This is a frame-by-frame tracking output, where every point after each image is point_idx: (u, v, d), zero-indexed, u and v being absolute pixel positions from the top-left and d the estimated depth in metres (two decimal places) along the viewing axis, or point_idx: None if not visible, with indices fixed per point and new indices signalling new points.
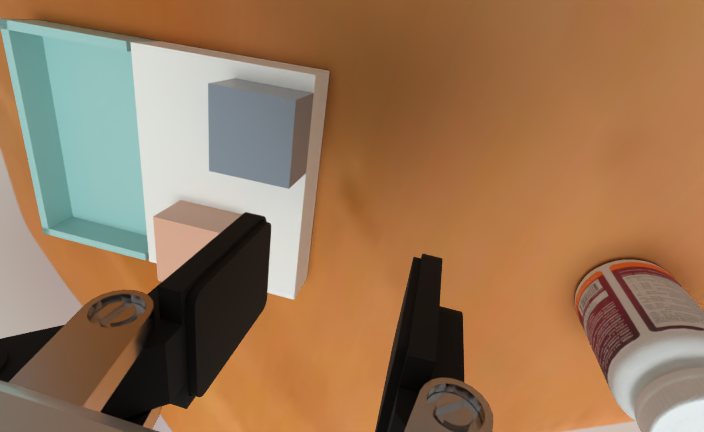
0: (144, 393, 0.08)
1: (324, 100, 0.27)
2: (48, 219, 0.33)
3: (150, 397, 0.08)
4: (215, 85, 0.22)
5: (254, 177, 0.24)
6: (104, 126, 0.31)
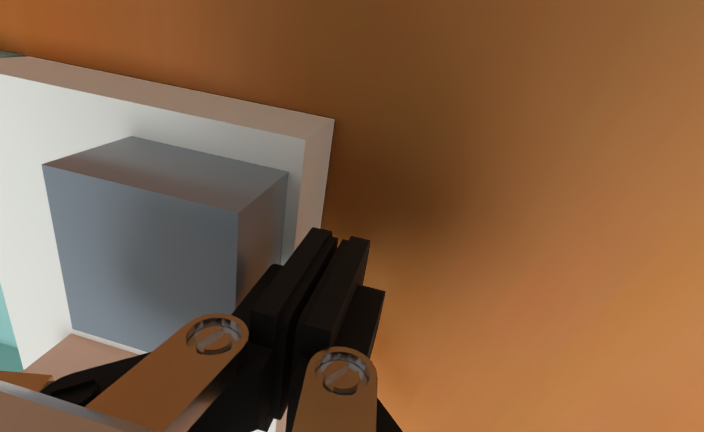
0: (225, 427, 0.08)
1: (324, 173, 0.14)
2: None
3: (241, 423, 0.08)
4: (58, 169, 0.10)
5: None
6: None
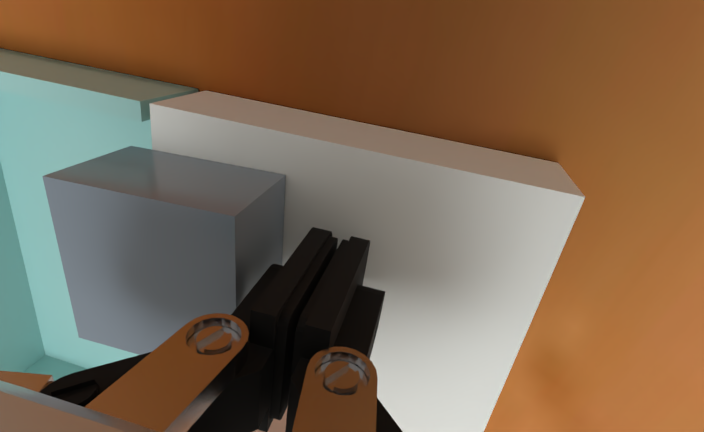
0: (225, 427, 0.08)
1: None
2: None
3: (242, 424, 0.08)
4: (58, 180, 0.10)
5: None
6: None
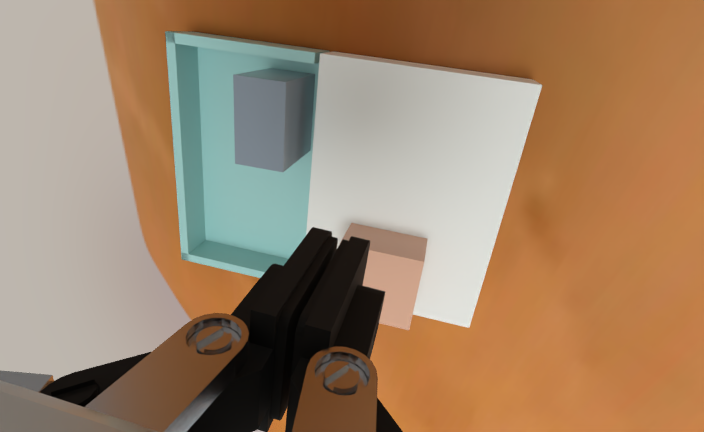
0: (225, 427, 0.08)
1: None
2: (189, 244, 0.31)
3: (241, 424, 0.08)
4: (268, 69, 0.26)
5: None
6: None
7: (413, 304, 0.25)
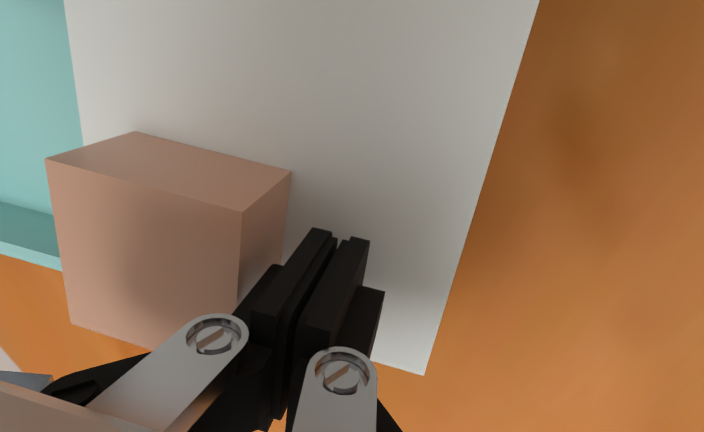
0: (225, 427, 0.08)
1: None
2: None
3: (242, 423, 0.08)
4: None
5: None
6: None
7: None
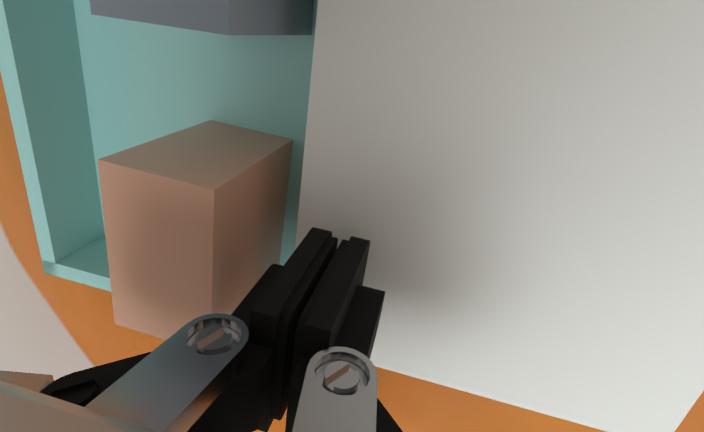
0: (225, 427, 0.08)
1: None
2: (55, 242, 0.15)
3: (242, 423, 0.08)
4: None
5: None
6: None
7: (110, 265, 0.11)
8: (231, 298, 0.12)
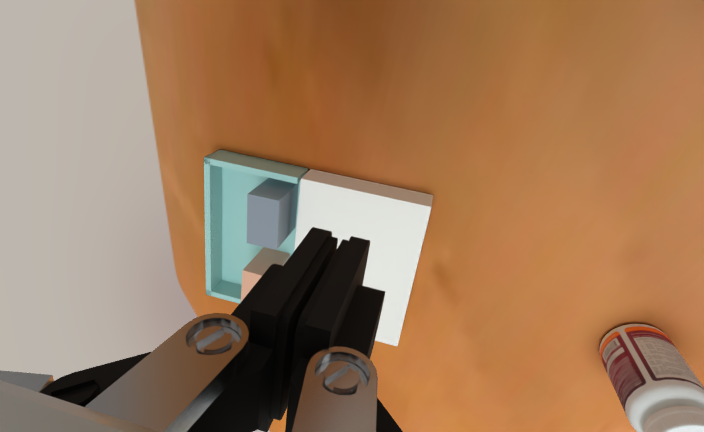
0: (225, 427, 0.08)
1: None
2: (211, 284, 0.45)
3: (242, 423, 0.08)
4: (268, 178, 0.41)
5: None
6: None
7: (241, 294, 0.41)
8: None
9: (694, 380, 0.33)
